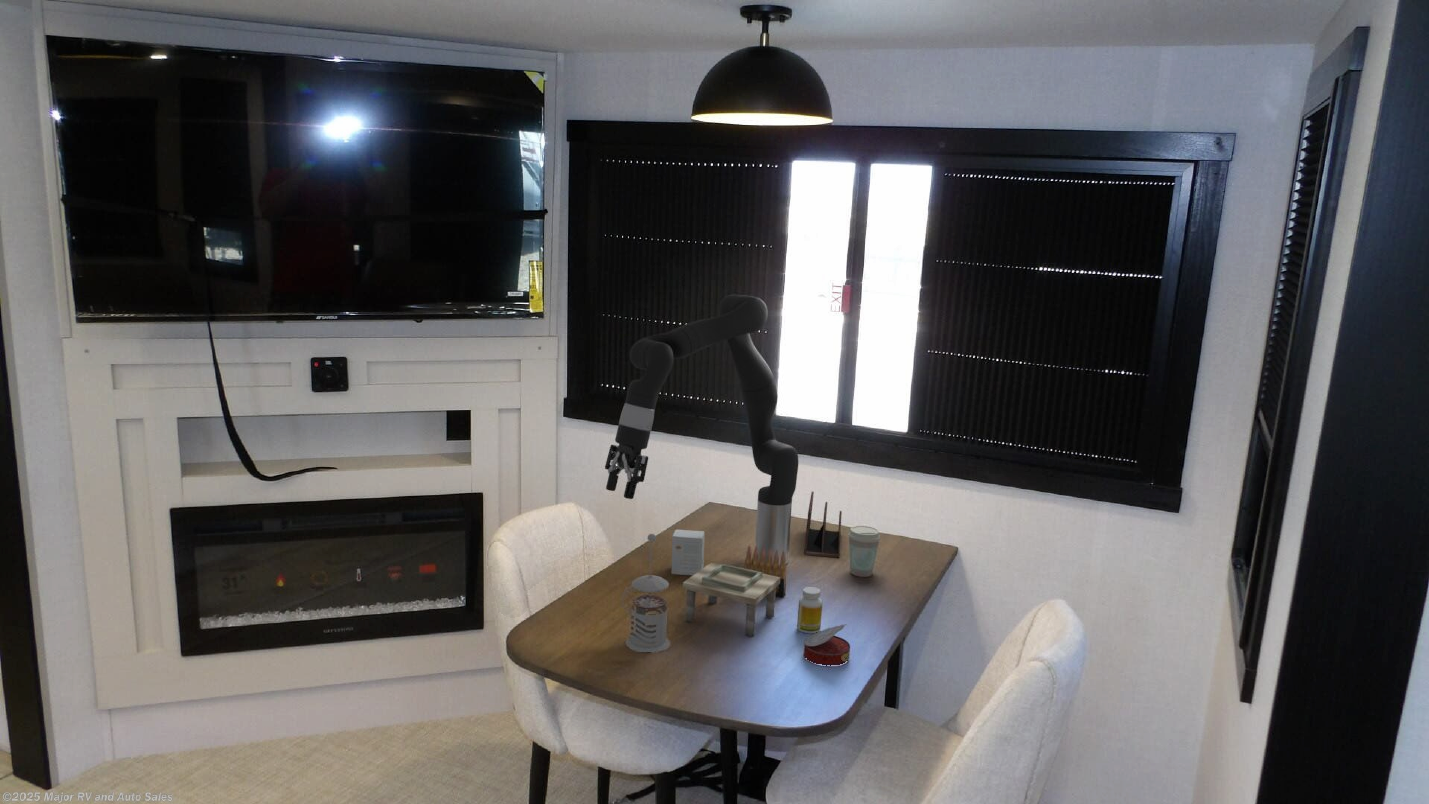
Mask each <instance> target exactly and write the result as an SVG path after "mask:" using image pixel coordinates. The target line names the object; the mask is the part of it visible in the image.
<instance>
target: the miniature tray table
mask: <svg viewBox="0 0 1429 804" xmlns="http://www.w3.org/2000/svg"><path fill="white" fill-rule="evenodd" d="M762 573H763V572H759V570H758V571H753V570H752V569H751V570H749V569H745V567H740V566H739V567H738V566H734V565H729V564H725V563H714V562H710V563H709V564H707V565H706V566H704V567H703V569H702V570H700V571H699V572H697V573H696V574H694V575H691V576H690V577H689V578H687V579H686V580H684V581H683V582H682V589H683V590H686V607H685V622H687V623H694V622H695V615H696V613H695V612H696V593H700V594H703V595H708V599H707V601H708V604H710V605H717V600H718V599H717V598H721V599H725V600H729V601H734V602H737V603H743V604H746V612H745V628H744V629H745V630H744V631H745V632H744V636H745V637H746V638H753V637H754V636H755V626H756V625H755V624H756V623H755V622H756V621H755V620H756V605H757V604H758V603H760V602H761V601H762V600H763V599H764V598H765V597H766V603H765V617H766V618H768V619H773V618H775V607H776V606H775V605H776V604H775V603H776V597H775V592H776V587H777V586H778V585H779V584H780V577H776V576H771V575H767V574H762ZM766 595H767V596H766Z"/></svg>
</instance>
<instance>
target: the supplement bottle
mask: <svg viewBox="0 0 1429 804" xmlns="http://www.w3.org/2000/svg"><path fill="white" fill-rule="evenodd" d="M801 594H802V596H801V597H799V599H798V600H799V601H798V609H797V620H796V621H797V622H796V623H797V624H796V628H797V630H798V631H799V632H801V633H803V632H805V633H804V634H807V633H810V634H809V635H812V634H811V633H814V634H816V632H819V631H821V628H822V627H821V626H822V625H821V623H822V613H823V612H822V611H823V600H822V599H821V590H820V589H819V588H818V587H814V586H805V587H803V589H802V593H801Z"/></svg>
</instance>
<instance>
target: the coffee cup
mask: <svg viewBox="0 0 1429 804" xmlns="http://www.w3.org/2000/svg"><path fill="white" fill-rule="evenodd" d="M847 537H848V544H849V545H848V549H849V550H848V551H849V570H850V574H852V575H853V576H855V577H859V578H861V577H862V578H865V577H866V578H867V577H871V576H872V575H873V573H874V572H873V571H874V567H875V563H876V557H877V552H878V547H879V543H880V542H879V541H881V535H880V531H879V530H878V529H877V528H876V527H872V526H870V525H869V526H868V525H854V526H852V527H850V530H849V532H848V534H847Z"/></svg>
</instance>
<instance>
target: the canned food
mask: <svg viewBox="0 0 1429 804" xmlns="http://www.w3.org/2000/svg"><path fill="white" fill-rule="evenodd" d="M845 626H847V623H846V624H845V623H844V624H840V625H836V626H833V627H828V628H825V629H823V630H820V631H819V632H817V633H814V634H810V636H807V638H805V640H804V642H803V645H804V646H803V657H804V656H805V657H804V659H805V658H807V660H809V661H811V662H813V663H816V664H822V665H826V666H827V665H830V666H831V665H840V664H843V663H845V662H846V661H848V659H849V660H850V653H851V644H850V643H849V641H847V640H846V639H844V638H842V637H839V636H837V635H836V634H838V632H840V631H842V630H843V629H844V628H845ZM807 660H806V661H807ZM809 661H808V662H809ZM811 662H810V663H811ZM848 662H849V661H848ZM813 663H812V664H813Z"/></svg>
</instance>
